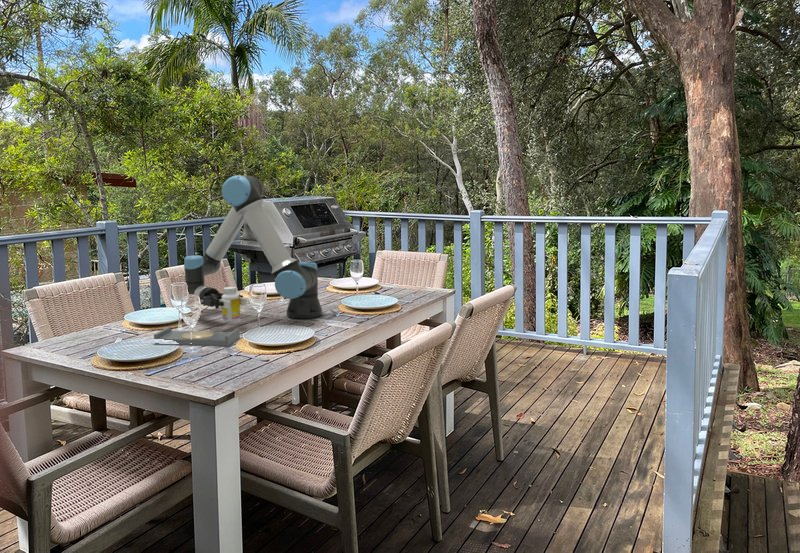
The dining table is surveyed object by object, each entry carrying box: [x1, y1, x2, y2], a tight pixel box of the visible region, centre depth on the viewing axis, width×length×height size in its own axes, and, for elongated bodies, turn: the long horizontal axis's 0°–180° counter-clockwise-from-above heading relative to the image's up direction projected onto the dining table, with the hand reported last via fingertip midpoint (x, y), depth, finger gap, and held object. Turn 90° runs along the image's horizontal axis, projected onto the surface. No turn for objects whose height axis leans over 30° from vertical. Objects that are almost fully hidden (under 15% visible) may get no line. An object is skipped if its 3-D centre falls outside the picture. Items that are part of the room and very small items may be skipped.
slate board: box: [153, 326, 241, 347], centre depth 233 cm, size 27×12×4 cm, turn 85°
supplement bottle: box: [221, 286, 241, 323], centre depth 248 cm, size 7×7×13 cm
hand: (237, 303), depth 245 cm, fingers closed on supplement bottle, 7 cm apart
